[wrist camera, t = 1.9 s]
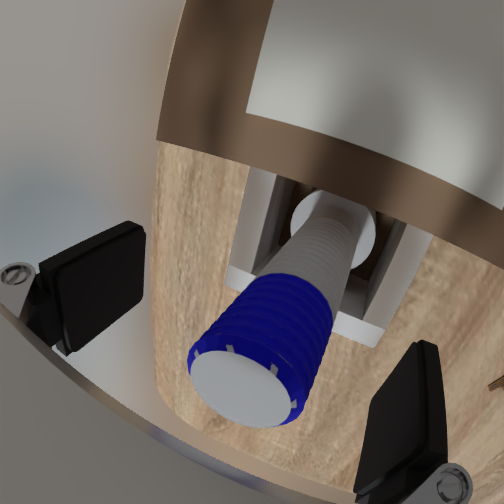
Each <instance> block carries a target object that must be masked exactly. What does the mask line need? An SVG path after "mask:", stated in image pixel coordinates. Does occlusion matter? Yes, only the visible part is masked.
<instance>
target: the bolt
mask: <svg viewBox="0 0 504 504" xmlns="http://www.w3.org/2000/svg"><path fill="white" fill-rule="evenodd" d="M375 234H376V213H375V210H373V209H371V208H368V207H366V206H363V205H361V204H358V203H356V202H353V201H350V200H348V199H345V198H343V197H340V196H337V195H335V194H332V193H329V192H326V191H324V190H321V189H318V188H317V189H315V190H314V191H313V192H312V193H311V194H309V195H308V196H307V197H306V198H304V199H303V200H302V201H301V202H300V203H299V205H298V206H297V207H296V209H295V211H294V213H293V216H292V220H291V238H290V240H288V242H287V243H286V244H285V245H284V246H283V247H282V248H281V250H280V251H279V252H278V253H277V254H276V255H275V256H274V257H273V259H272V260H271V261H270V262H269V263H268V264H267V265H266V266H265V267H264V269H263V270H262V271H261V272H260V273H259V274H258V275H257V276H256V277H255V278H254V280H253V281H252V282H251V283H250V284H249V285H248V286H247V288H246V289H244V290H243V291H242V293H241V294H240V295H239V296H238V297H237V298H236V299H235V300H234V302H233V303H232V304H231V305H230V306H229V307H228V308H227V309H226V311H225V312H223V313H222V314H221V315H220V317H219V318H218V320H217V321H215V322H214V323H213V324H212V325H211V327H210V328H209V329H208V330H207V331H206V332H205V333H204V334H203V335H202V336H201V338H200V339H199V340H198V341H197V342H195V344H194V345H193V346H192V348H191V349H190V350H189V354H188V359H187V363H188V371H189V374H190V377H191V380H192V383H193V385H194V388H195V389H196V391H197V393H198V394H199V396H200V397H201V398H202V399H203V401H204V402H205V403H206V404H207V405H208V406H209V407H210V408H212V409H213V410H214V411H216V412H217V413H218V414H220V415H221V416H223V417H225V418H227V419H229V420H231V421H233V422H235V423H238V424H241V425H244V426H248V427H254V428H269V427H275V426H280V425H284V424H287V423H289V422H291V421H293V420H294V419H296V418H297V417H298V416H299V415H300V413H301V412H302V411H303V409H304V405H305V402H306V400H307V399H308V396H309V392H310V389H311V388H312V386H313V383H314V379H315V376H316V375H317V372H318V368H319V366H320V364H321V361H322V357H323V355H324V353H325V349H326V346H327V344H328V340H329V337H330V335H331V331H332V328H333V326H334V322H335V320H336V316H337V313H338V310H339V306H340V303H341V300H342V297H343V294H344V289H345V287H346V283H347V279H348V276H349V273H350V270H351V269H353V268H355V267H357V266H358V265H360V264H361V263H362V262H363V261H364V260H365V259H366V258H367V257H368V256H369V254H370V252H371V250H372V248H373V245H374V241H375Z"/></svg>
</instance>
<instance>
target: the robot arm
mask: <svg viewBox="0 0 504 504" xmlns="http://www.w3.org/2000/svg"><path fill="white" fill-rule="evenodd" d="M145 245H146V233H145V232H144V229H143V227H142V226H141V225H138V224H136V223H134V222H131V221H125V222H123V223H121V224H118V225H116V226H114V227H112V228H110V229H107V230H105V231H103V232H101V233H99V234H97V235H95V236H93V237H90V238H88V239H86V240H85V241H82V242H80V243H78V244H76V245H74V246H72V247H70V248H68V249H66V250H64V251H62V252H60V253H58V254H56V255H54V256H52V257H50V258H48V259H46V260H44V261H42V262H40V263H39V270H40V273H38V274H36V272H35V269H34V267H33V266H32V265H30V264H28V263H23V262H18V263H13V264H9V265H7V266H5V267H4V268H2V269H1V270H0V504H335V503H331V502H328V501H324V500H321V499H318V498H315V497H311V496H308V495H305V494H302V493H300V492H297V491H294V490H291V489H287V488H285V487H282V486H279V485H277V484H274V483H271V482H269V481H266V480H264V479H261V478H259V477H256V476H254V475H251V474H249V473H246V472H244V471H242V470H240V469H237V468H235V467H233V466H231V465H229V464H226V463H224V462H222V461H220V460H218V459H216V458H214V457H212V456H209V455H208V454H206V453H203V452H202V451H200V450H198V449H196V448H194V447H192V446H190V445H188V444H186V443H185V442H182V441H181V440H179V439H178V438H176V437H174V436H172V435H170V434H169V433H167V432H165V431H164V430H162V429H160V428H158V427H157V426H155V425H154V424H152V423H150V422H149V421H147V420H146V419H144V418H142V417H141V416H139V415H138V414H136V413H135V412H133V411H132V410H130V409H128V408H127V407H125V406H124V405H123V404H121V403H120V402H118V401H117V400H115V399H114V398H113V397H111V396H110V395H108V394H107V393H106V392H104V391H103V390H102V389H100V388H99V387H98V386H96V385H95V384H94V383H92V382H91V381H90V380H88V379H87V378H86V377H84V376H83V375H82V374H81V373H79V372H78V371H77V370H76V369H74V368H73V367H72V366H71V365H70V364H68V363H67V362H66V361H65V360H63V359H62V358H61V357H60V356H59V355H58V354H57V353H55V352H54V351H53V350H52V346H53V345H55V344H56V347H57V349H58V350H59V351H60V352H61V353H63V354H64V355H65V356H66V357H67V356H68V355H69V354H71V353H72V352H77V351H78V350H80V349H81V348H82V347H84V346H85V345H86V344H87V343H88V342H90V341H91V340H92V339H94V338H95V337H96V336H97V335H98V334H100V333H101V332H102V331H104V330H105V329H106V328H107V327H109V326H110V325H111V324H112V323H114V322H115V321H116V320H117V319H119V318H120V317H121V316H123V315H124V314H125V313H126V312H128V311H129V310H130V309H131V308H133V307H134V306H135V305H137V304H138V303H139V302H140V301H141V299H142V297H143V287H144V263H145ZM472 491H473V484H472V480H471V477H470V475H469V474H468V472H467V471H466V470H465V469H464V468H463V467H462V466H460V465H458V464H456V463H448V445H447V423H446V408H445V397H444V389H443V380H442V372H441V365H440V358H439V351H438V347H437V345H435V344H432V343H430V342H427V341H425V340H420V341H418V343H416V342H413V343H412V344H411V345H410V347H409V348H408V350H407V351H406V353H405V354H404V356H403V357H402V359H401V360H400V361H399V363H398V364H397V366H396V367H395V368H394V370H393V371H392V373H391V374H390V375H389V377H388V378H387V379H386V381H385V382H384V383H383V385H382V386H381V387H380V389H379V390H378V391H377V392H376V394H375V395H374V396H373V398H372V400H371V403H370V406H369V413H368V419H367V425H366V431H365V436H364V442H363V447H362V452H361V457H360V462H359V466H358V471H357V475H356V480H355V484H354V488H353V492H354V493H356V494H357V496H356V500H355V503H358V504H468V502H469V500H470V498H471V496H472Z"/></svg>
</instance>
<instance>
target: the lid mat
mask: <svg viewBox="0 0 504 504" xmlns="http://www.w3.org/2000/svg"><path fill="white" fill-rule="evenodd" d="M246 113H249V114H253V115H258V116H262V117H266V118H270V119H274V120H278V121H281V122H285V123H289V124H292V125H296V126H299V127H303V128H306V129H310V130H313V131H316V132H320V133H323V134H326V135H329V136H332V137H335V138H338V139H341V140H344V141H347V142H350V143H353V144H356V145H359V146H362V147H364V148H367V149H370V150H373V151H375V152H378V153H381V154H383V155H386V156H388V157H391V158H393V159H396V160H398V161H401V162H403V163H406V164H408V165H411V166H413V167H415V168H418V169H420V170H422V171H424V172H427V173H429V174H431V175H433V176H436V177H438V178H440V179H442V180H444V181H446V182H449V183H451V184H453V185H455V186H457V187H459V188H461V189H463V190H465V191H467V192H469V193H471V194H473V195H475V196H477V197H479V198H480V199H482V200H484V201H486V202H488V203H490V204H492V205H493V206H495V207H497V208H499V209H501V210H502V209H503V207H504V0H274V2H273V6H272V9H271V13H270V17H269V21H268V24H267V28H266V32H265V36H264V40H263V44H262V47H261V51H260V55H259V59H258V63H257V67H256V71H255V75H254V80H253V84H252V88H251V92H250V96H249V100H248V105H247V109H246Z"/></svg>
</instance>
